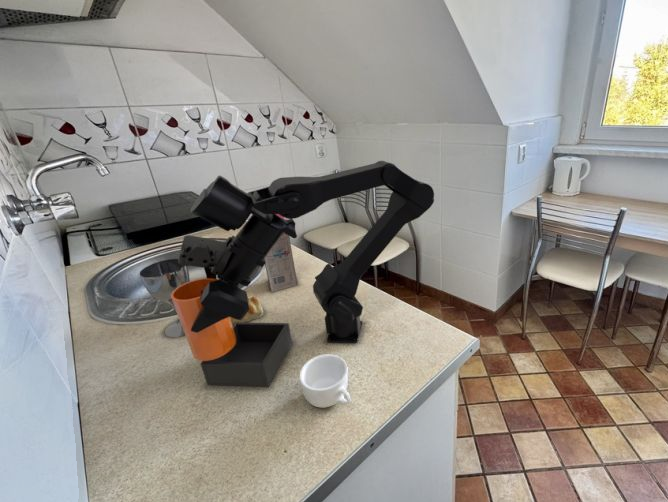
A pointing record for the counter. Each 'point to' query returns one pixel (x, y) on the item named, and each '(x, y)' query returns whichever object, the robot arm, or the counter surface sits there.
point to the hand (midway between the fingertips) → (195, 318)
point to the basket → (250, 356)
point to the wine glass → (166, 286)
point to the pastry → (251, 311)
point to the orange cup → (210, 339)
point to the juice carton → (281, 264)
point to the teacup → (325, 380)
